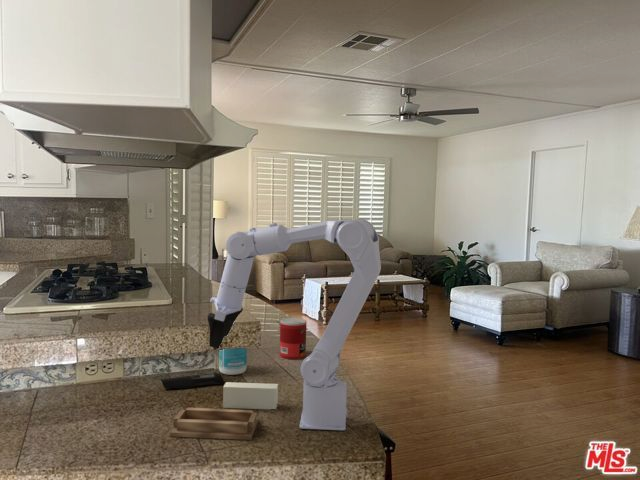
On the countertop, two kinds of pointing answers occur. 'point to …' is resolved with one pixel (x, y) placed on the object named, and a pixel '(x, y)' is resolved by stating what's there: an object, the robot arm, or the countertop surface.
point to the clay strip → (250, 395)
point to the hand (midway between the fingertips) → (218, 341)
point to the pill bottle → (232, 361)
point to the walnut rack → (215, 423)
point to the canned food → (292, 338)
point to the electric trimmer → (193, 381)
